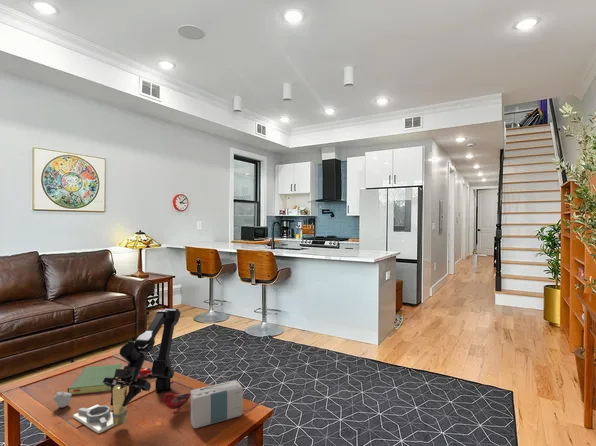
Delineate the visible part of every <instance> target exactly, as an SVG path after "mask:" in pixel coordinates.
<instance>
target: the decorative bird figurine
mask: <svg viewBox="0 0 596 446" xmlns="http://www.w3.org/2000/svg"><path fill="white" fill-rule="evenodd" d="M189 398H191V392H190V393H177V394H176V393H175V394H174V393H173V392H166V393H165V394H164V396H163V398H162V399H161V401H163V402H164V403H165V405H166V407H167V408H168V409H171V410H174V411H173V412H171V414H176V413H177V412H179V411H180V410H182V408H181V407H182V406H183V405H184V404H185V403H187V402H188V400H189Z"/></svg>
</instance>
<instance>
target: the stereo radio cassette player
mask: <svg viewBox="0 0 596 446" xmlns="http://www.w3.org/2000/svg"><path fill="white" fill-rule="evenodd" d="M235 367H236V366H235V365H233V367H232V368H230V369H229V370H227V371H225V372H224V373H222V374H221V375H220V376H218V377H217V378H215V379H214V380H213V381H211V382H210V383H209V384H207V385H206V386H204V387H200V388H195V389H191V390H190V393H191V396H190V423H191V425H192V427H193V428H194V429H198V428H203V427H205V426H209V425H213V424H216V423H220V422H223V421H228V420H231V419H234V418H239V417H241V416H242V415H243V411H244V410H243V407H244V405H243V404H244V403H243V402H244V401H243V400H244V392H243V391H244V390H243V389H244V387H243V386H242V385H241V383H240V382H239V381H238V380H236V379H235V380H230V381H226V382H221V383H217V384H214V383H215V382H216V381H218V380H219V379H220V378H221V377H223V376H225V375H226V374H227V373H228V372H230V371H231V370H232V369H233V368H235Z"/></svg>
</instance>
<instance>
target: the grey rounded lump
mask: <svg viewBox="0 0 596 446" xmlns="http://www.w3.org/2000/svg"><path fill="white" fill-rule="evenodd" d="M55 394H56V395H54V396H53V401H54V403H56V406H57V407H59V408H60V409H61V408H65V407H67V406H68V405H69V404H70V402H71V400H72V395H71V394H70V393H68V391H67V392H65V391H58V392H56V393H55Z"/></svg>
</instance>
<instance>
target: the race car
mask: <svg viewBox="0 0 596 446" xmlns="http://www.w3.org/2000/svg"><path fill="white" fill-rule="evenodd" d="M151 370H152V367H144V368H141V370H140V371H141V374H139V375H138V377H137V379H144V378H149V377H151V378H153V376H152V371H151Z"/></svg>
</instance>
